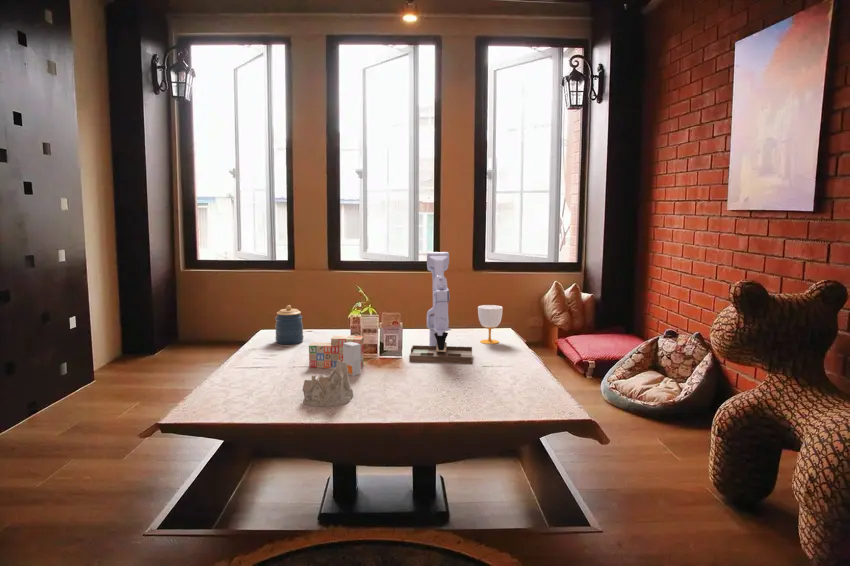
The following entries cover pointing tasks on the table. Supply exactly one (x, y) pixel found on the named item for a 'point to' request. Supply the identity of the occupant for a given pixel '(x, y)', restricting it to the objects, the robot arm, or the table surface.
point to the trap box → (441, 354)
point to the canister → (289, 326)
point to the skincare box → (352, 357)
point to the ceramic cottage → (329, 388)
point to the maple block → (441, 350)
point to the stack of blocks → (331, 351)
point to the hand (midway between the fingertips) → (441, 349)
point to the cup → (490, 319)
